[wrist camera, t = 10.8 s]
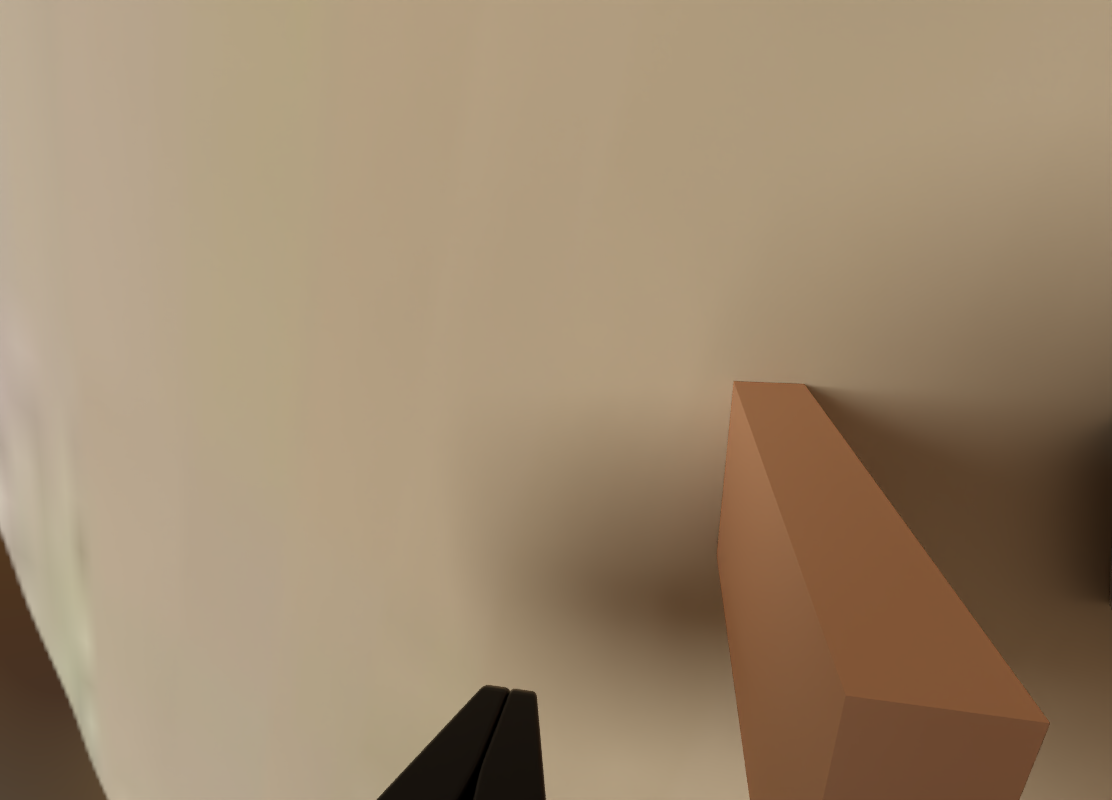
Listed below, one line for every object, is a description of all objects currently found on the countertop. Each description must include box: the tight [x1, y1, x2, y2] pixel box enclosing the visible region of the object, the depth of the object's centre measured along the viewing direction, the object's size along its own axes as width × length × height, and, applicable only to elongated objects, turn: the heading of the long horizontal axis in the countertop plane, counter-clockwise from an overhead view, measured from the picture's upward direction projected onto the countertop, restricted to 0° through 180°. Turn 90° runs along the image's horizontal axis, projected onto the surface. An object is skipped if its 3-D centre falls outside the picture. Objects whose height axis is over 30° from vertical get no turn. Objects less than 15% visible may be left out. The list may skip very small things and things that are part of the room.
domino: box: [717, 381, 1050, 800], centre depth 10 cm, size 2×5×9 cm, turn 1°
